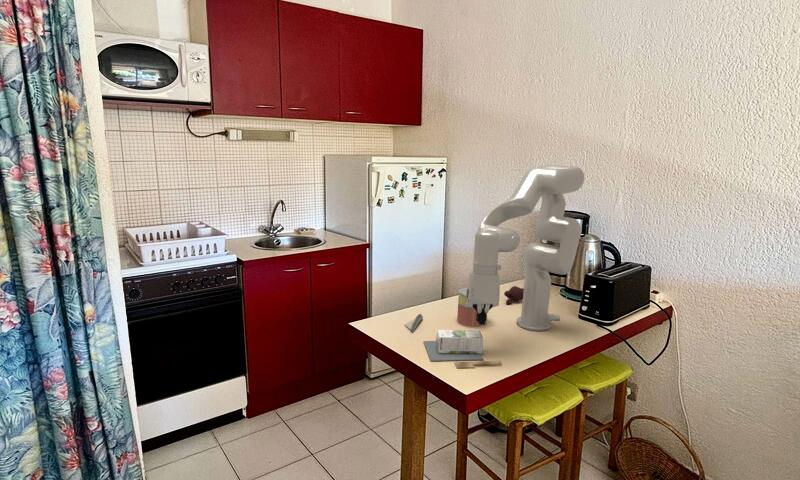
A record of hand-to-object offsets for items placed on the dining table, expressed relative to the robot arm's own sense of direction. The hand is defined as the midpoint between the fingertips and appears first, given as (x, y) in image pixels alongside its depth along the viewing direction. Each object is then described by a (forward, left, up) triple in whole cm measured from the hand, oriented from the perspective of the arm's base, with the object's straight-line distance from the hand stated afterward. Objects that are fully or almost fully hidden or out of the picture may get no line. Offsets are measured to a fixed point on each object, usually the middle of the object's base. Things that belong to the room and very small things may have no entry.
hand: (481, 323), depth 148 cm
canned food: (-4, -24, -10) cm, 26 cm away
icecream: (-29, -46, -10) cm, 55 cm away
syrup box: (0, +1, -6) cm, 6 cm away
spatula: (+3, +10, -10) cm, 14 cm away
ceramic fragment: (+18, -21, -10) cm, 30 cm away
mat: (+9, 0, -10) cm, 13 cm away
